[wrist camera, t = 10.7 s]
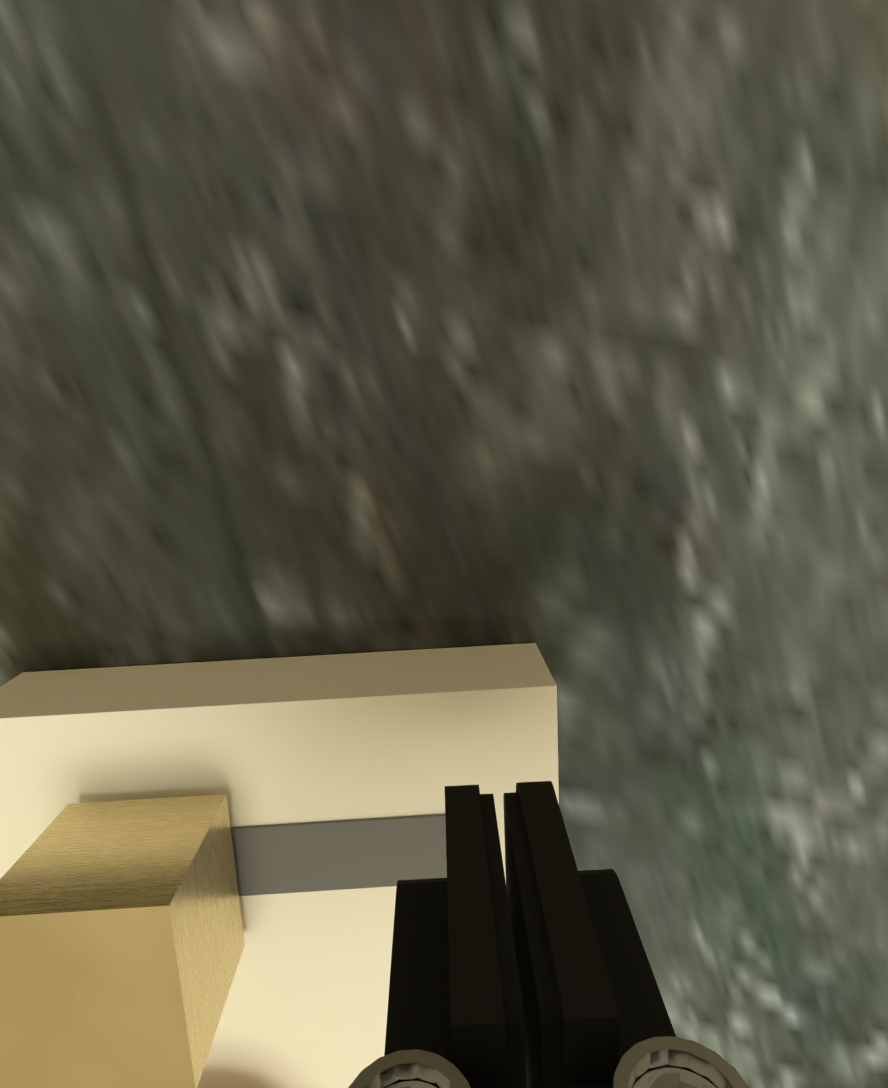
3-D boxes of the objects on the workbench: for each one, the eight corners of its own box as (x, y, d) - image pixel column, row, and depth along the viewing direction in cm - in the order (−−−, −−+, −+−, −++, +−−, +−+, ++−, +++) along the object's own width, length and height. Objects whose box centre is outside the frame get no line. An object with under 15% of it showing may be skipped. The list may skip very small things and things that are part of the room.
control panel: (535, 643, 19) (557, 687, 16) (550, 1262, 23) (570, 1392, 20) (22, 672, 18) (-57, 723, 15) (133, 1295, 23) (88, 1432, 20)
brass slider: (226, 793, 16) (169, 905, 12) (244, 944, 16) (196, 1091, 13) (68, 803, 16) (-36, 918, 12) (94, 954, 16) (3, 1104, 13)
